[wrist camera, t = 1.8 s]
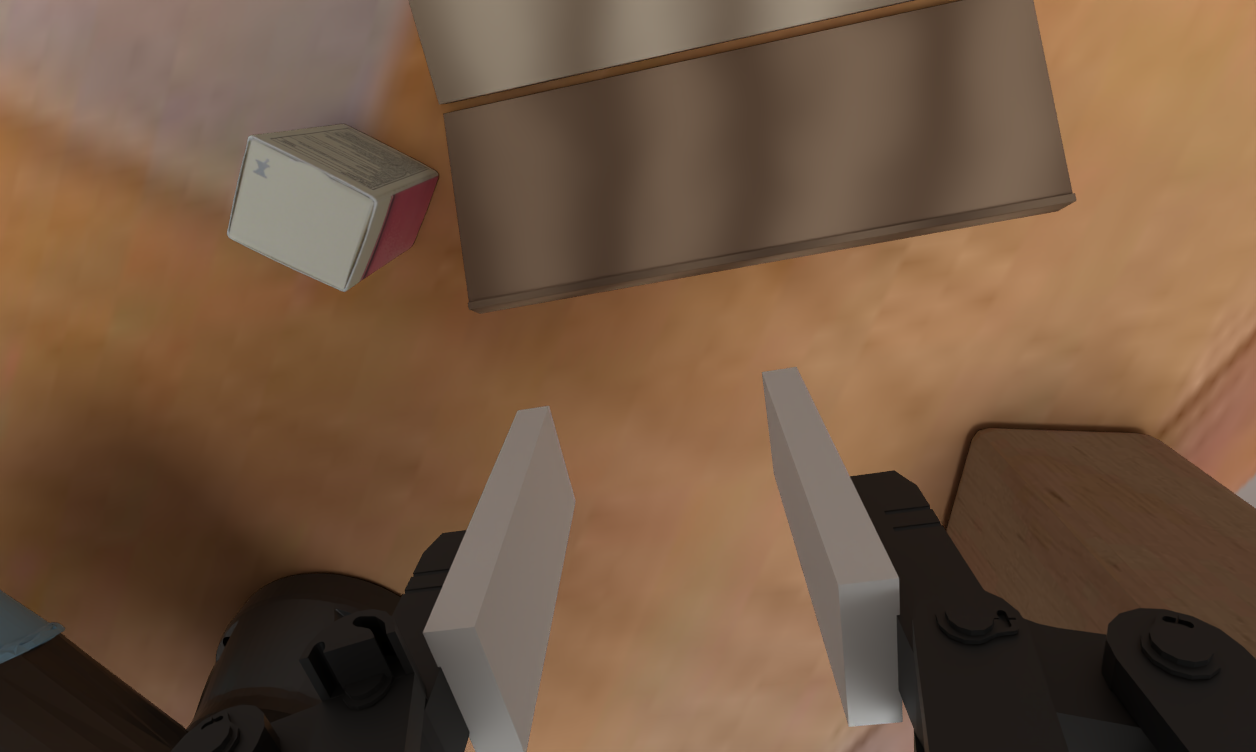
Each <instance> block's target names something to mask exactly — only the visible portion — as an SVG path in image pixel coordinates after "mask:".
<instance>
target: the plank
mask: <svg viewBox="0 0 1256 752" xmlns="http://www.w3.org/2000/svg"><path fill="white" fill-rule="evenodd" d="M443 115H444V122H445V129H446V137H447V144H448V151H449V159H450V166H451V173H452V181H453V188H454V195H455V203H456V210H457V217H458V225H459V232H460V239H461V247H462V254H463V261H464V269H465V276H466V283H467V291H468V298H469V302H468V307H469V310H472V311H474V312H477V313H479V314H481V313H487V312H492V311H498V310H504V309H509V308H515V307H521V306H526V305H532V304H538V303H543V302H549V301H554V300H560V299H566V298H571V297H577V296H583V295H588V294H594V293H599V292H605V291H611V290H616V289H622V288H628V287H633V286H639V285H645V284H650V283H656V282H661V281H667V280H673V279H678V278H684V277H690V276H695V275H701V274H706V273H712V272H718V271H723V270H729V269H735V268H740V267H746V266H752V265H757V264H763V263H768V262H774V261H780V260H785V259H791V258H797V257H802V256H808V255H814V254H819V253H825V252H830V251H836V250H842V249H847V248H853V247H859V246H864V245H870V244H875V243H881V242H887V241H892V240H898V239H904V238H909V237H915V236H921V235H926V234H932V233H937V232H943V231H949V230H954V229H960V228H966V227H971V226H977V225H983V224H988V223H994V222H999V221H1005V220H1011V219H1016V218H1022V217H1028V216H1033V215H1039V214H1044V213H1050V212H1056V211H1059V210H1061V209H1062V208H1064V207H1066V206H1068V205H1070V204H1071V203H1073V202H1075V201H1076V196H1075V193H1072V188H1071V183H1070V178H1069V173H1068V169H1067V164H1066V159H1065V154H1064V149H1063V144H1062V139H1061V134H1060V129H1059V124H1058V119H1057V114H1056V110H1055V105H1054V100H1053V95H1052V90H1051V85H1050V80H1049V75H1048V70H1047V65H1046V60H1045V56H1044V51H1043V46H1042V41H1041V36H1040V31H1039V26H1038V21H1037V16H1036V11H1035V6H1034V2H1033V0H962V1H957V2H952V3H948V4H943V5H939V6H934V7H930V8H925V9H920V10H916V11H911V12H907V13H902V14H898V15H893V16H889V17H884V18H879V19H875V20H870V21H866V22H861V23H857V24H852V25H847V26H843V27H838V28H834V29H829V30H825V31H820V32H815V33H811V34H806V35H802V36H797V37H793V38H788V39H783V40H779V41H774V42H770V43H765V44H761V45H756V46H751V47H747V48H742V49H738V50H733V51H729V52H724V53H720V54H715V55H710V56H706V57H701V58H697V59H692V60H688V61H683V62H678V63H674V64H669V65H665V66H660V67H656V68H651V69H646V70H642V71H637V72H633V73H628V74H624V75H619V76H614V77H610V78H605V79H601V80H596V81H592V82H587V83H582V84H578V85H573V86H569V87H564V88H560V89H555V90H551V91H546V92H541V93H537V94H532V95H528V96H523V97H519V98H514V99H509V100H505V101H500V102H496V103H491V104H487V105H482V106H477V107H473V108H468V109H464V110H459V111H455V112H450V113H445V114H443Z"/></svg>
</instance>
